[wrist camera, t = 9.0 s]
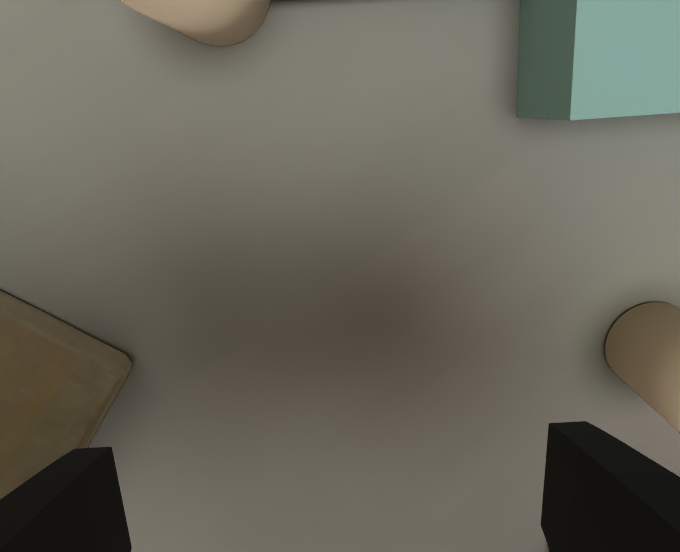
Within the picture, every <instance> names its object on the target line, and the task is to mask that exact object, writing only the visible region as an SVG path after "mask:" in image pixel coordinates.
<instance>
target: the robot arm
mask: <svg viewBox="0 0 680 552" xmlns="http://www.w3.org/2000/svg"><path fill="white" fill-rule="evenodd" d="M541 527H542V530H543V532H544V535H545V538H546V541H547V543H548V546H549V549H550V552H680V477H679V476H677V475H676V474H674V473H672V472H671V471H669V470H667V469H666V468H664V467H662V466H661V465H659V464H658V463H656V462H654V461H653V460H651V459H649V458H648V457H646V456H644V455H643V454H641V453H640V452H638V451H636V450H635V449H633V448H631V447H630V446H628V445H626V444H625V443H623V442H622V441H620V440H618V439H617V438H615V437H613V436H612V435H610V434H608V433H606V432H605V431H603V430H601V429H599V428H598V427H596V426H594V425H592V424H590V423H588V422H586V421H583V422H564V423H549V428H548V441H547V453H546V466H545V479H544V491H543V504H542V517H541ZM131 548H132V547H131V542H130V537H129V532H128V527H127V522H126V517H125V512H124V507H123V502H122V497H121V492H120V487H119V482H118V477H117V472H116V467H115V462H114V457H113V452H112V447H99V448H80V449H73V450H72V451H70V452H68V453H67V454H65V455H63V456H62V457H60V458H59V459H57V460H56V461H54V462H53V463H51V464H50V465H48V466H47V467H45V468H44V469H43V470H41V471H40V472H38V473H37V474H35V475H34V476H33V477H31V478H30V479H28V480H27V481H25V482H24V483H23V484H21V485H20V486H18V487H17V488H16V489H14V490H13V491H11V492H10V493H9V494H7V495H6V496H4V497H3V498H2V499H0V552H131Z"/></svg>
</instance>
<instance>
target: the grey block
mask: <svg viewBox="0 0 680 552" xmlns="http://www.w3.org/2000/svg"><path fill="white" fill-rule="evenodd" d="M605 355H606V359H607V362H608V364H609V366H610V368H611V369H612V370H613V371H614V372H615V374H617V375H618V376H619V377H620V378H621V379H622V380H623V381H624V382H625V383H626V384H627V385H628V386H629V387H631V388H632V389H633V390H634V391H635V392H636V393H637V394H638V395H639V396H640V397H641V398H642V399H644V400H645V401H646V402H647V403H648V404H649V405H650V406H651V407H652V408H653V409H654V410H655V411H656V412H658V413H659V414H660V415H661V416H662V417H663V418H664V419H665V420H666V421H667V422H668V423H669V424H670V425H672V426H673V427H674V428H675V429H676V430H677V431H678V432H679V433H680V309H679V308H677V307H675V306H673V305H671V304H668V303H662V302H651V303H645V304H641V305H639V306H636V307H634V308H632V309H630V310H629V311H627V312H626V313H624V314H623V315H622V316H621V317H620V318H619V319H618V320H617V321H616V322H615V323H614V325H613V326H612V328H611V330H610V331H609V334H608V336H607V339H606V344H605Z"/></svg>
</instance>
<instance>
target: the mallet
mask: <svg viewBox="0 0 680 552" xmlns="http://www.w3.org/2000/svg"><path fill="white" fill-rule="evenodd" d="M121 1H122V2H123V3H124V4H126V5H127V6H129V7H130V8H132V9H134V10H135V11H137V12H139V13H141V14H144V15H146V16H148V17H150V18H152V19H154V20H156V21H158V22H160V23H162V24H164V25H166V26H168V27H170V28H172V29H174V30H176V31H178V32H181V33H183V34H185V35H187V36H189V37H191V38H193V39H195V40H197V41H199V42H202V43H204V44H208V45H212V46H230V45H234V44H237V43H239V42H242V41H244V40H245V39H247V38H248V37H250V36H251V35H252V34H253V33H255V31H256V30H257V29H258V28H259V27H260V25H261V24H262V22H263V21H264V19H265V17H266V15H267V12H268V9H269V5H270V1H271V0H121ZM669 113H680V0H520V27H519V59H518V92H517V117H529V118H543V119H558V120H582V119H597V118H611V117H626V116H640V115H655V114H669Z"/></svg>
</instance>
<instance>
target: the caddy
mask: <svg viewBox="0 0 680 552" xmlns="http://www.w3.org/2000/svg"><path fill="white" fill-rule="evenodd" d="M131 367H132V364H131V361H130V360H129V359H128V357H127V356H126V355H125V354H124V353H122V352H120V351H118V350H116V349H114V348H112V347H110V346H108V345H106V344H104V343H102V342H101V341H99V340H97V339H95V338H93V337H91V336H89V335H87V334H85V333H83V332H81V331H79V330H77V329H75V328H73V327H72V326H70V325H68V324H66V323H64V322H62V321H60V320H58V319H56V318H54V317H52V316H50V315H49V314H47V313H45V312H43V311H41V310H39V309H37V308H35V307H33V306H31V305H29V304H26V303H24V302H22V301H20V300H18V299H16V298H14V297H12V296H10V295H8V294H6V293H4V292H2V291H0V499H2V498H3V497H4V496H6V495H7V494H9V493H10V492H11V491H13V490H14V489H16V488H17V487H18V486H20V485H21V484H23V483H24V482H25V481H27V480H28V479H30V478H31V477H33V476H34V475H35V474H37V473H38V472H40V471H41V470H43V469H44V468H45V467H47V466H48V465H50V464H51V463H53V462H54V461H56V460H57V459H59V458H60V457H62V456H63V455H65V454H67V453H68V452H70V451H72V450H73V449H80V448H88V446H89V445H90V443H91V441H92V439H93V437H94V436H95V434H96V432H97V430H98V428H99V427H100V425H101V423H102V421H103V420H104V418H105V416H106V414H107V412H108V411H109V409H110V407H111V405H112V403H113V402H114V400H115V398H116V396H117V395H118V393H119V391H120V389H121V388H122V386H123V384H124V382H125V380H126V378H127V376H128V375H129V373H130V370H131Z"/></svg>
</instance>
